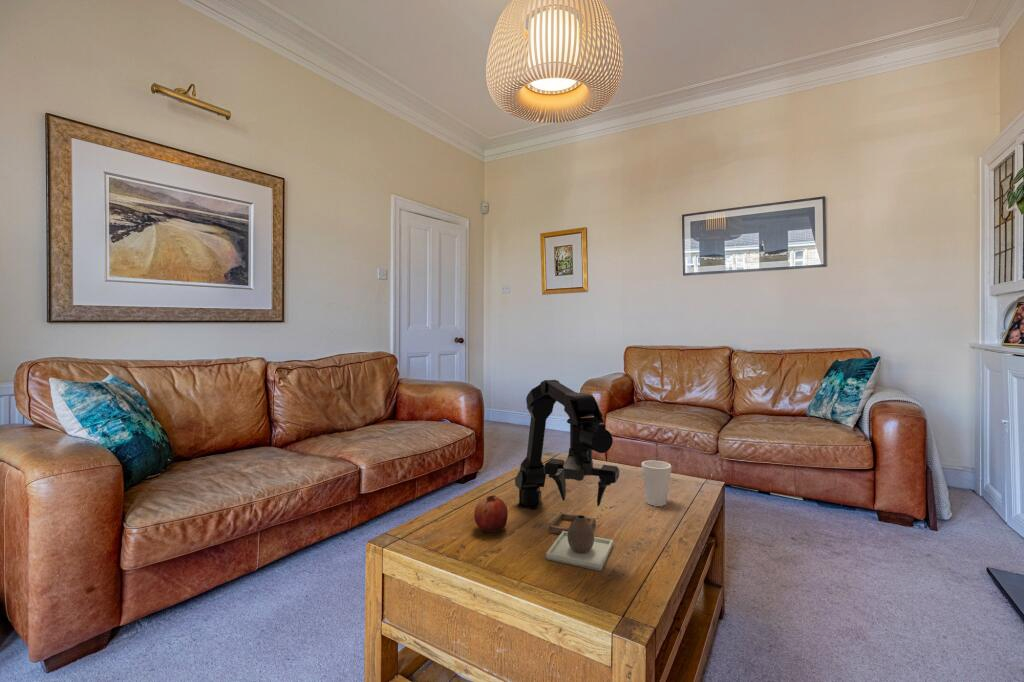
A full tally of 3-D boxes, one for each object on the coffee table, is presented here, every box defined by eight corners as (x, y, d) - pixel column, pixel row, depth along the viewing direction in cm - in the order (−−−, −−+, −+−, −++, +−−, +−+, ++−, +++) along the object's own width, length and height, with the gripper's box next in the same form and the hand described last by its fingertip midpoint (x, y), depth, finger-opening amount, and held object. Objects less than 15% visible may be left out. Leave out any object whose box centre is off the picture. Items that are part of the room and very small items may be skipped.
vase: (593, 557, 113) (594, 523, 113) (566, 555, 115) (566, 521, 114) (594, 544, 120) (594, 512, 120) (568, 542, 121) (568, 510, 121)
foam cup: (639, 505, 148) (640, 466, 148) (642, 496, 157) (643, 459, 157) (670, 510, 145) (670, 470, 144) (671, 500, 153) (672, 462, 153)
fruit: (501, 541, 124) (501, 505, 123) (468, 535, 127) (468, 500, 126) (513, 525, 134) (513, 491, 133) (482, 520, 137) (482, 488, 137)
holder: (548, 532, 129) (548, 526, 129) (560, 517, 139) (560, 511, 139) (586, 539, 124) (586, 533, 124) (595, 524, 134) (595, 518, 134)
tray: (546, 559, 114) (546, 553, 114) (563, 536, 127) (563, 530, 126) (601, 571, 108) (601, 565, 108) (613, 545, 121) (613, 540, 121)
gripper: (536, 446, 113) (536, 508, 114) (610, 455, 106) (610, 521, 106) (550, 437, 123) (550, 493, 124) (619, 444, 116) (619, 504, 116)
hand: (580, 502), depth 117 cm, fingers open, 9 cm apart
